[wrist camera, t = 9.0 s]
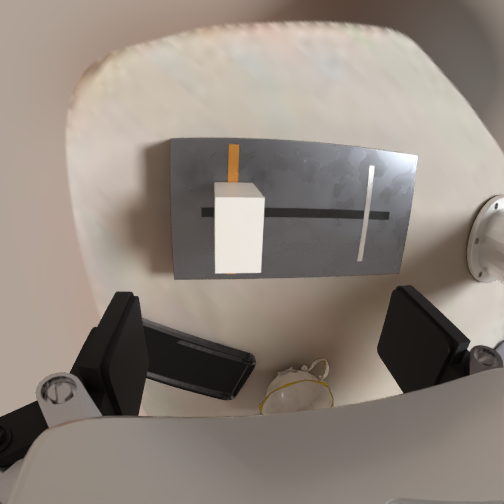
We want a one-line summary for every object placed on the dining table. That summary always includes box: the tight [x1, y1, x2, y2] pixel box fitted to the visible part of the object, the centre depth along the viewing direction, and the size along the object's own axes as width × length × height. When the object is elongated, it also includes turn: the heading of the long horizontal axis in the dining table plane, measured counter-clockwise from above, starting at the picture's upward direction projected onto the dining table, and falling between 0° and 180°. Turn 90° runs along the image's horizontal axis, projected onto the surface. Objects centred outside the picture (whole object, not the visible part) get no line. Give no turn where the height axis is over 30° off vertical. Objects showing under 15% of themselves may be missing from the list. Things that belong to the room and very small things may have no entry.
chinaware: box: [259, 358, 334, 415], centre depth 34 cm, size 28×17×17 cm, turn 170°
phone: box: [142, 318, 256, 400], centre depth 34 cm, size 8×1×15 cm
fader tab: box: [214, 182, 265, 273], centre depth 23 cm, size 3×5×6 cm, turn 178°
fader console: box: [170, 138, 418, 280], centre depth 28 cm, size 22×12×3 cm, turn 88°
